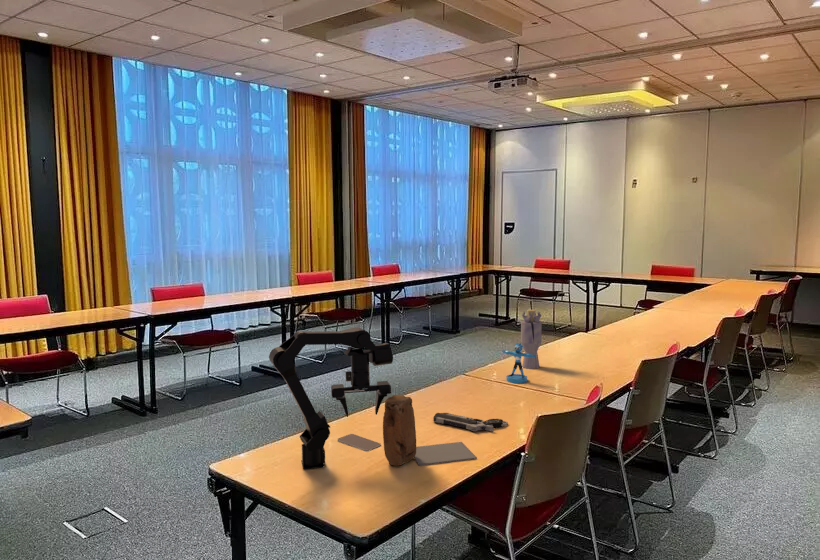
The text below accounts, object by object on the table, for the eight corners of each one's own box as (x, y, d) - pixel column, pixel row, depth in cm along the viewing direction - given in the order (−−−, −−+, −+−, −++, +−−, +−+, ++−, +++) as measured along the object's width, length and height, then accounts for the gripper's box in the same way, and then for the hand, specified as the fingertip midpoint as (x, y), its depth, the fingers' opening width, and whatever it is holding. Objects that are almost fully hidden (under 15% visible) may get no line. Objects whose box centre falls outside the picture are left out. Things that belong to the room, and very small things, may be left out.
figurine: (496, 380, 279) (496, 342, 278) (506, 375, 287) (506, 339, 285) (530, 386, 268) (531, 347, 267) (540, 381, 276) (540, 343, 274)
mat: (419, 465, 181) (419, 464, 181) (407, 449, 195) (407, 447, 195) (476, 459, 186) (476, 457, 186) (461, 443, 200) (461, 441, 200)
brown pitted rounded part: (399, 452, 192) (395, 392, 189) (419, 455, 188) (415, 394, 186) (381, 465, 182) (377, 402, 180) (402, 469, 178) (398, 405, 176)
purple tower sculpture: (529, 363, 312) (529, 307, 309) (545, 366, 304) (545, 309, 301) (516, 366, 305) (517, 309, 302) (532, 370, 297) (533, 311, 294)
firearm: (451, 406, 232) (431, 415, 220) (508, 418, 218) (490, 428, 206) (451, 415, 232) (431, 423, 220) (508, 427, 218) (490, 437, 206)
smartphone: (366, 450, 193) (335, 439, 203) (366, 453, 193) (336, 441, 203) (382, 443, 199) (351, 433, 208) (382, 446, 199) (351, 435, 208)
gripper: (385, 359, 196) (387, 405, 198) (329, 363, 193) (331, 409, 194) (390, 368, 185) (392, 416, 187) (331, 372, 182) (332, 421, 184)
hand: (361, 415), depth 188 cm, fingers open, 9 cm apart
